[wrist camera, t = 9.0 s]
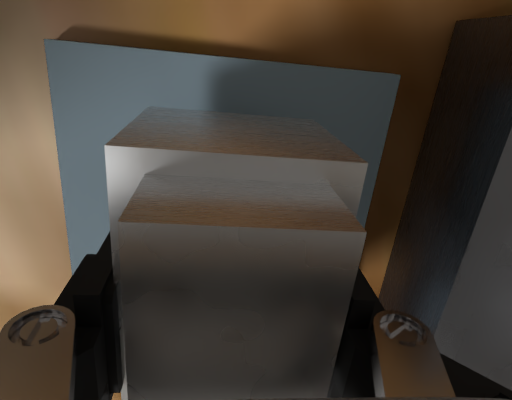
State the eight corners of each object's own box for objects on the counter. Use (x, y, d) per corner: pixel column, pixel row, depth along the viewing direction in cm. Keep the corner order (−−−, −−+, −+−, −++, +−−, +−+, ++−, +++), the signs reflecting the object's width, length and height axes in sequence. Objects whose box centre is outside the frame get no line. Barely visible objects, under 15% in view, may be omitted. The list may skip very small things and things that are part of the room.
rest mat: (391, 73, 14) (401, 75, 13) (333, 322, 18) (338, 334, 18) (54, 39, 12) (43, 39, 11) (85, 320, 17) (79, 332, 16)
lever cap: (149, 106, 11) (59, 184, 5) (313, 119, 11) (420, 204, 5) (153, 340, 14) (104, 556, 8) (278, 340, 15) (318, 541, 9)
